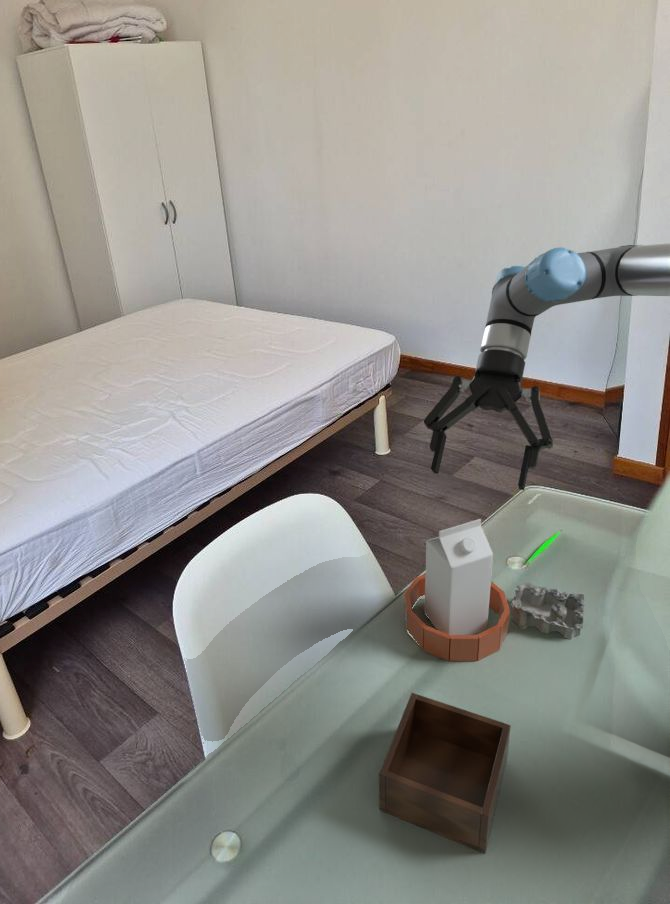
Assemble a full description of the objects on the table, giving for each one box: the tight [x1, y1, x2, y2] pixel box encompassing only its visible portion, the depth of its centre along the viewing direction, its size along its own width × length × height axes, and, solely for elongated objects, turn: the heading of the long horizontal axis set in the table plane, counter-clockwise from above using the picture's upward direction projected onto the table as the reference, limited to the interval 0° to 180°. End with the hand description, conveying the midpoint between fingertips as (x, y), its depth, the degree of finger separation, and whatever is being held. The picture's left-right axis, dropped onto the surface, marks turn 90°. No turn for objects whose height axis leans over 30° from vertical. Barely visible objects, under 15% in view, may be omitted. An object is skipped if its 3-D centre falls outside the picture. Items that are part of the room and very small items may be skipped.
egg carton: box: [510, 582, 585, 640], centre depth 108 cm, size 11×8×4 cm
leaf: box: [525, 529, 563, 565], centre depth 124 cm, size 1×14×1 cm, turn 134°
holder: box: [378, 692, 512, 854], centre depth 83 cm, size 13×13×7 cm
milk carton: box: [423, 518, 494, 635], centre depth 105 cm, size 7×7×19 cm
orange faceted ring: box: [404, 573, 511, 662], centre depth 108 cm, size 16×16×4 cm
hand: (476, 479), depth 109 cm, fingers open, 13 cm apart
